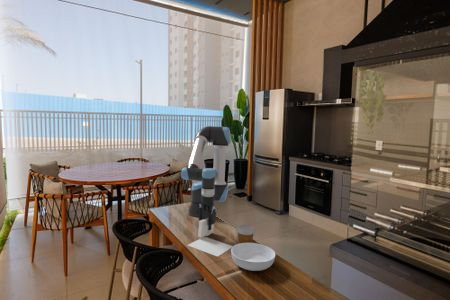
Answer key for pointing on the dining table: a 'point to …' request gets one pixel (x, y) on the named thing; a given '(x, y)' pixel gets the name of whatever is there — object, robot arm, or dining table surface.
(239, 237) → the disposable coffee cup
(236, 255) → the serving bowl
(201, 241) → the mat
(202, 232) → the tile
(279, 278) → the dining table surface
